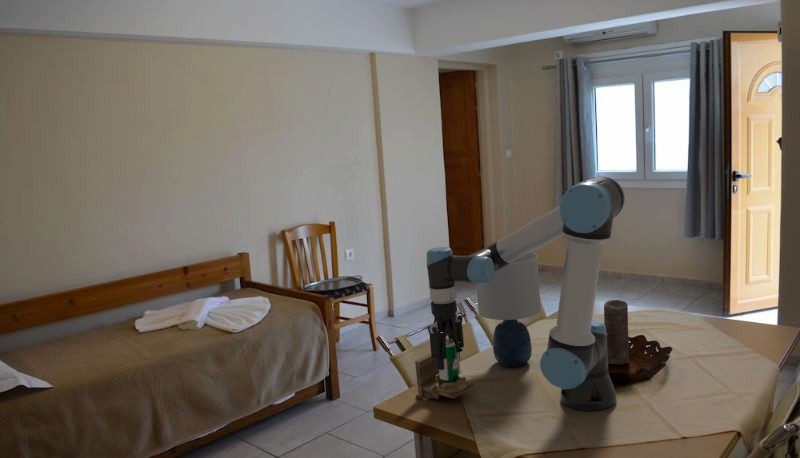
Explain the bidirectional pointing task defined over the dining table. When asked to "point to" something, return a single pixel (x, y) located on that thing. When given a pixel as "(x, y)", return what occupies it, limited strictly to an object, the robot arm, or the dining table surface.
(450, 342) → the soda can
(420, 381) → the bracket
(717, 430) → the dining table surface
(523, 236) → the robot arm
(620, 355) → the candle
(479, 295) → the lamp
